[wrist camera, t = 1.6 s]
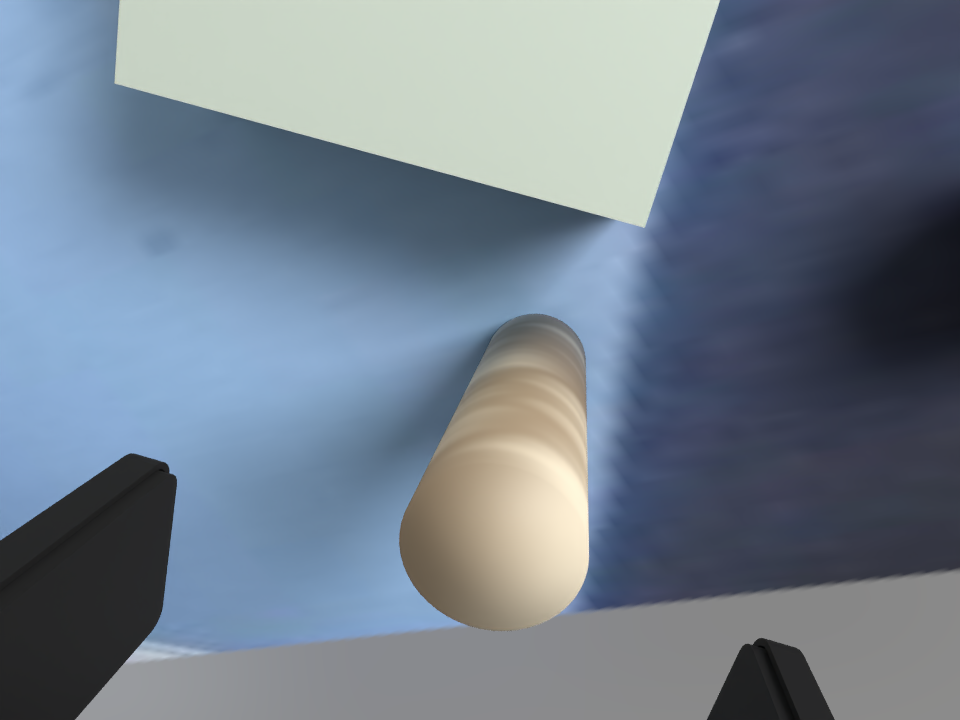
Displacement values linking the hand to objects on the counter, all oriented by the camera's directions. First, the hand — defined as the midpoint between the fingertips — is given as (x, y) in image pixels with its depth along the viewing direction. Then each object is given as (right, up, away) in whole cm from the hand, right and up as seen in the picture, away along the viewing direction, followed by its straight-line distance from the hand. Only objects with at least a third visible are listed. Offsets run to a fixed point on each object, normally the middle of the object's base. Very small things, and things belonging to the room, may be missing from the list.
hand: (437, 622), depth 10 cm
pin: (+3, +4, +13) cm, 14 cm away
